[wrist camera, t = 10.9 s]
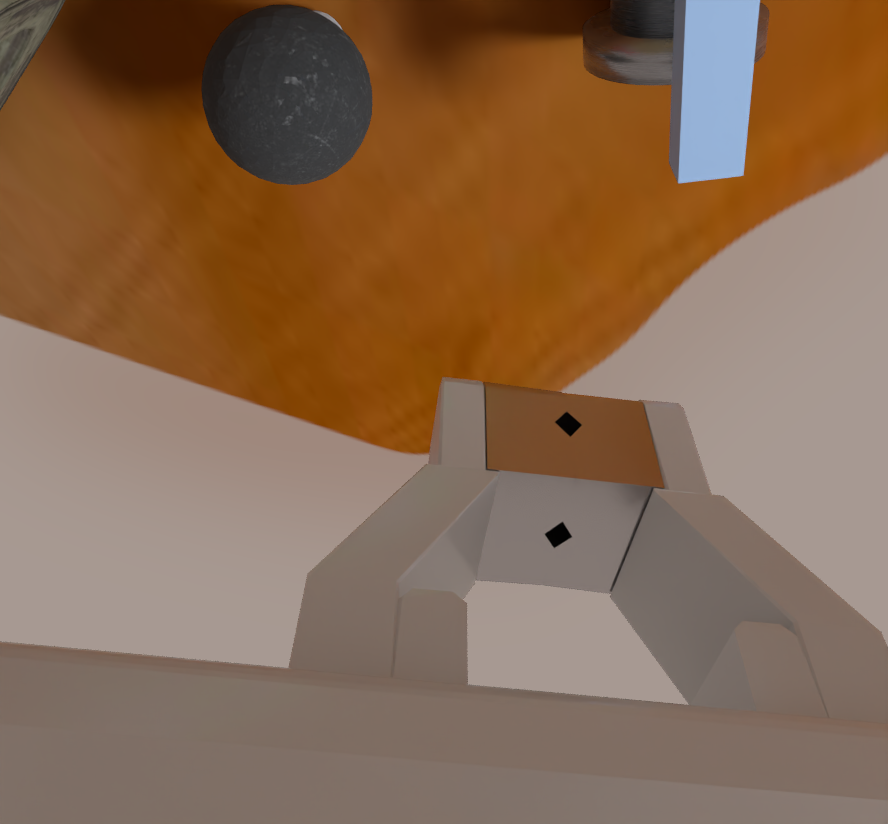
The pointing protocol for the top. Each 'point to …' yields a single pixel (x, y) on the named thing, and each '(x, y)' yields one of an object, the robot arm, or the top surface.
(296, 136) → the light bulb
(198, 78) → the top surface
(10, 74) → the tabletop clock
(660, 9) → the valve
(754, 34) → the lever
